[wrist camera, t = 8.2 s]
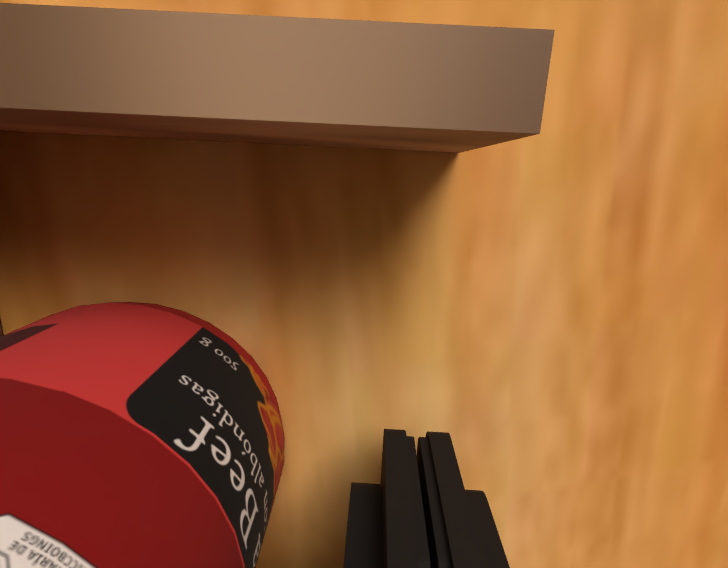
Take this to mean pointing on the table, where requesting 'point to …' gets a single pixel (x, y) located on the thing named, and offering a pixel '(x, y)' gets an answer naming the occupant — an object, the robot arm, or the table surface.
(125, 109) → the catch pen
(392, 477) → the robot arm
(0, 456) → the canned food
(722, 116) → the table surface
